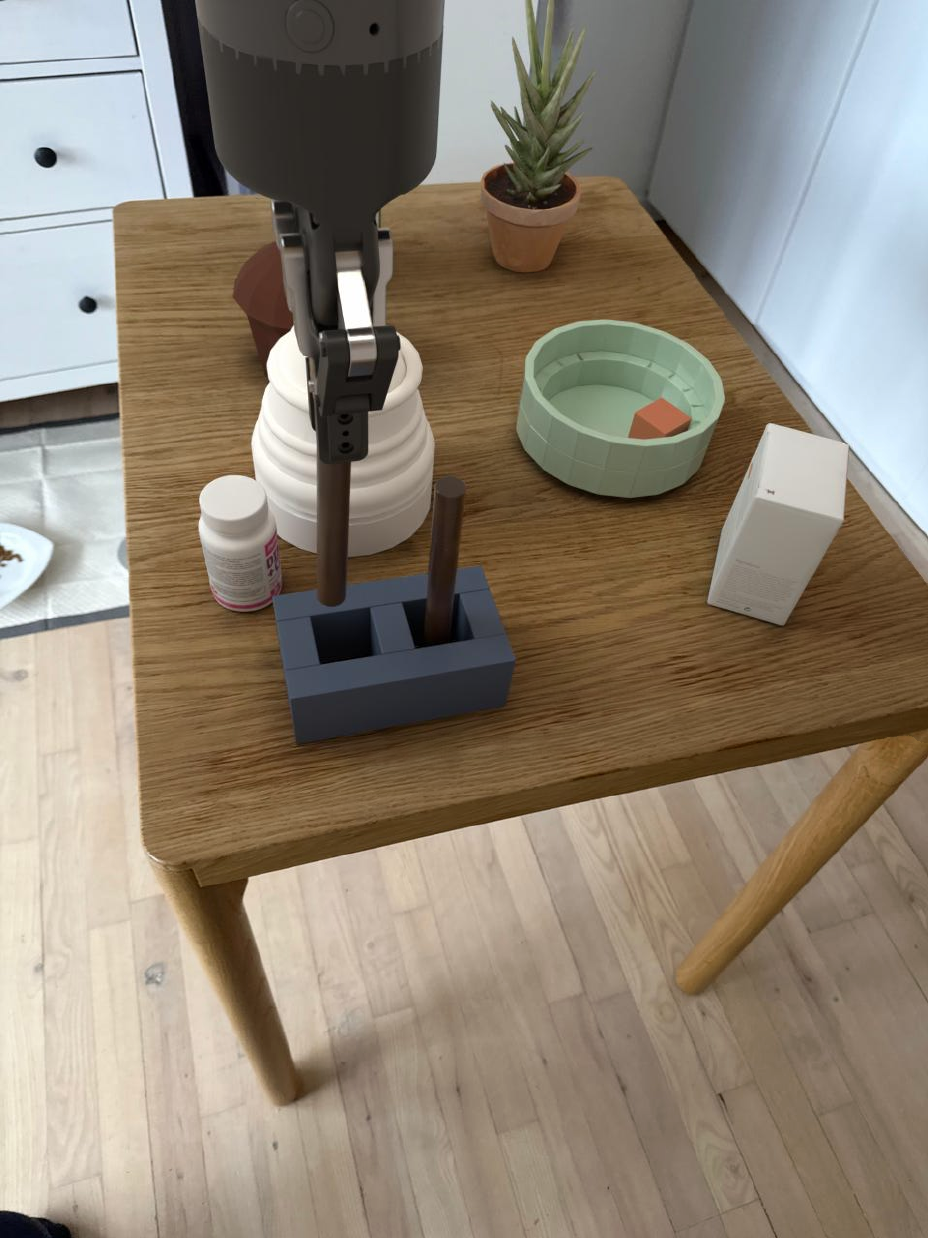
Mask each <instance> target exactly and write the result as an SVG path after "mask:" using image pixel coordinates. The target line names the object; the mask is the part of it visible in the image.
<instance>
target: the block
mask: <svg viewBox="0 0 928 1238" xmlns="http://www.w3.org/2000/svg"><path fill="white" fill-rule="evenodd" d="M691 420H692V418H691V417H689V416H688V415H686V414H685V413H684V412H682V411H681V410H679V409H678V408H676V407H675V406H673V405H672V404H671V403H669V402H668V401H666V400H665V399H663V398H662V397H661V398H659V399H658V400H656V401H654V402H652V403H651V404H649V405H647V406H645V407H644V408H642V409H640V410H638V411H637V412H635V414H634V418H633V421H632V425H631V428H630V432H629V435H628V438H634V439H643V440H646V439H655V438H665V437H673V436H676V435H678V434H681V433H683V432H686V431H688V429H689V426H690V423H691Z"/></svg>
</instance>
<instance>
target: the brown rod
mask: <svg viewBox="0 0 928 1238" xmlns="http://www.w3.org/2000/svg"><path fill="white" fill-rule="evenodd" d="M350 480H351V462H345V463H337V464H325V463H323V462H322V461H321V460H320V458H319V454H318V450H317V554H316V589H317V598H318V600H319V602H320V603H321V604H323V605H325V606H328V607H335V606H339V605H341V604H342V603H343V602H344V601H345V599H346V588H347V585H348V584H347V583H348V560H349V559H348V558H349V557H348V534H349V507H350Z"/></svg>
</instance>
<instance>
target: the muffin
mask: <svg viewBox="0 0 928 1238" xmlns="http://www.w3.org/2000/svg"><path fill="white" fill-rule="evenodd" d="M232 293H233V294H232V299H233V300H234V301H235V302H236V304H237V305H238V306H239V307H240V309H241V310H242V311H243V312H244V314H245V316H246V318H247V320H248V323H249V327H250V330H251V334H252V338H253V342H254V345H255V349H256V352H257V356H258V358H259V360H260V364H261V367H262V372H263V374H264V376H266V377H268V372H267V361H268V358H269V354H270V351H271V350H272V348H273V347H274V346H275V344H276V343H277V342H278V341H279V339H280V338H281V337H283V336H284V335H286V334H287V333H288V332H290V331H291V329H292V327H293V325H294V322H293V313H292V312H291V311H290V310H289V308H288V303H287V299H286V295H285V291H284V283H283V271H282V261H281V251H280V250H279V248H278V247H277V243H276V240H275V241H272V242H269V243H267V244H265V245H263V246H262V247H260V248H259V249H257V251H256V252H255V253H253V254H252V255H251V256H250V257H249V258H248V259H247V260H246V261H245V263H243V264H242V266H241V268H240V269H239V271H238V274H237V276H236V278H234V284H233V291H232Z"/></svg>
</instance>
